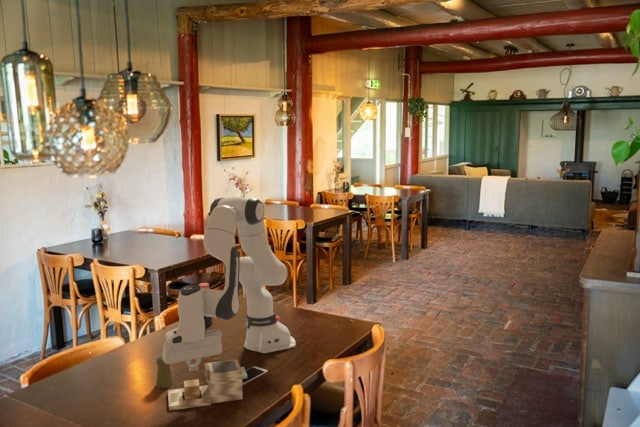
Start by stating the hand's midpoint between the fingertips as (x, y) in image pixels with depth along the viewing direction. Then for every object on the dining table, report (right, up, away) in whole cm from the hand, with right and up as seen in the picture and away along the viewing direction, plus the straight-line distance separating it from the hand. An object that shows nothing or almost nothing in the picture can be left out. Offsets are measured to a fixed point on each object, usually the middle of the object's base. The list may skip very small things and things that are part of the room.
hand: (193, 370), depth 192 cm
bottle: (-12, +1, +75) cm, 75 cm away
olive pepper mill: (-13, -9, +12) cm, 20 cm away
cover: (+11, -3, +4) cm, 12 cm away
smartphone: (+16, -8, +20) cm, 27 cm away
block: (-1, -11, +1) cm, 11 cm away
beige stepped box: (+3, -10, +3) cm, 11 cm away
